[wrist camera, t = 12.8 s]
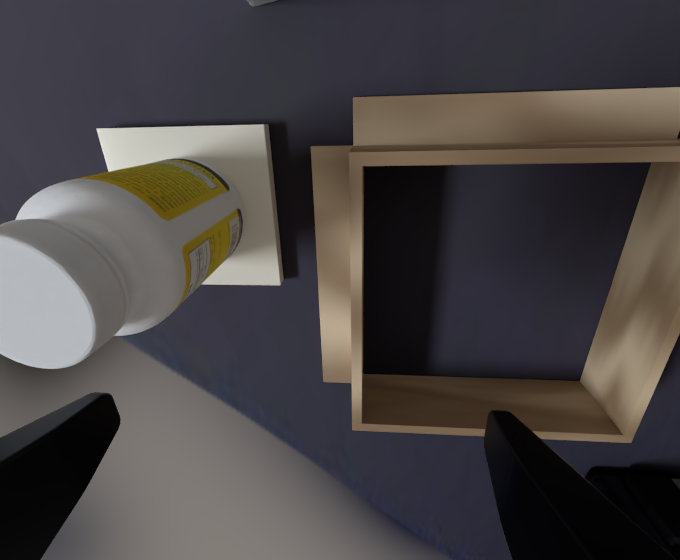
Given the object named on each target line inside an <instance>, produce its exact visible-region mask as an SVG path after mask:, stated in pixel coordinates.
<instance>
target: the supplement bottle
mask: <svg viewBox="0 0 680 560" xmlns="http://www.w3.org/2000/svg"><path fill="white" fill-rule="evenodd" d="M244 228H245V214H244V209H243V205H242V202H241V199H240V197H239V195H238V193H237V191H236V190H235V188H234V187H233V185H232V184H231V183H230V181H229V180H228V179H227V178H226V177H225V176H224V175H223V174H221V173H220V172H219V171H218V170H216V169H215V168H213V167H212V166H210V165H208V164H206V163H204V162H201V161H198V160H194V159H189V158H174V159H166V160H162V161H157V162H153V163H148V164H144V165H139V166H134V167H129V168H124V169H120V170H115V171H110V172H106V173H101V174H96V175H92V176H87V177H82V178H78V179H73V180H68V181H65V182H61V183H57V184H55V185H52V186H49V187H47V188H45V189H43V190H41V191H40V192H38V193H36V194H35V195H34V196H32V197H31V198H30V199H29V200H28V201H27V202H26V203H25V204H24V205H23V206H22V208H21V209H20V211H19V213H18V215H17V217H16V219H15V220H14V221H9V222H6V223H4V224H1V225H0V354H2V355H4V356H6V357H8V358H10V359H12V360H14V361H17V362H20V363H22V364H25V365H28V366H33V367H38V368H47V369H48V368H49V369H56V368H64V367H68V366H72V365H74V364H77V363H79V362H81V361H83V360H84V359H85V358H87V357H88V356H90V355H91V354H92V353H93V352H94V351H96V350H97V349H98V348H100V347H101V346H102V345H103V344H105V343H106V342H107V341H108V340H109V339H111V338H112V337H113V336H123V335H131V334H135V333H139V332H142V331H145V330H147V329H150V328H151V327H153V326H155V325H157V324H158V323H160V322H161V321H163V320H164V319H165V318H166V317H168V316H169V315H170V314H171V313H172V312H173V311H174V310H175V309H176V308H177V307H178V306H179V305H180V304H181V303H182V302H183V301H184V300H185V299H186V298H187V297H188V296H189V295H190V294H192V293H193V292H194V291H195V290H196V289H197V288H198V287H199V286H200V285H201V284H202V283H203V282H204V281H205V280H206V279H207V278H208V277H209V276H210V275H211V274H212V273H213V272H214V271H215V270H216V269H217V268H218V267H219V266H220V265H221V264H222V263H223V262H224V261H225V260H226V259H227V258H228V257H230V256H231V255H232V253H233V252H234V251H235V249H236V248H237V247H238V245H239V243H240V241H241V239H242V236H243V233H244Z"/></svg>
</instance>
